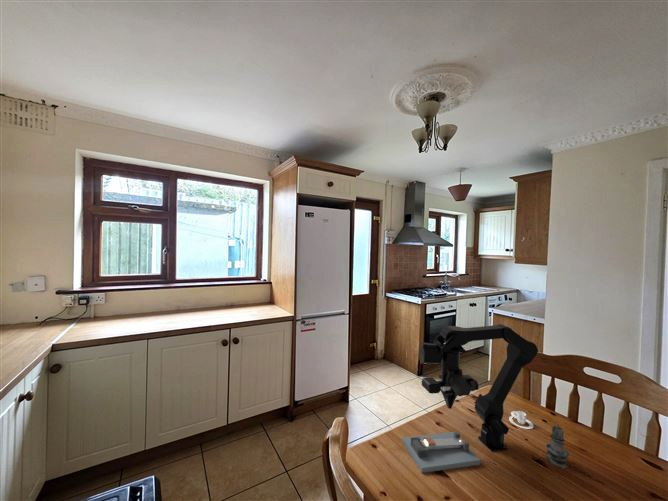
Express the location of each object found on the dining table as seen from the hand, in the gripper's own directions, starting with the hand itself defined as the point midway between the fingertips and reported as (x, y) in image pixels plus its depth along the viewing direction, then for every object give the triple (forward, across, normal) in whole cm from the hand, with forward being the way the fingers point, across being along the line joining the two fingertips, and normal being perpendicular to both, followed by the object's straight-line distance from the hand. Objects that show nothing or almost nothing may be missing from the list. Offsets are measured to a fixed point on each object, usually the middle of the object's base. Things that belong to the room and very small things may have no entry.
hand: (449, 407), depth 93 cm
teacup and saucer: (+13, +38, +6) cm, 41 cm away
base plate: (+12, -6, -4) cm, 14 cm away
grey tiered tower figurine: (+12, +30, -13) cm, 35 cm away
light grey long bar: (+10, -5, -4) cm, 12 cm away
